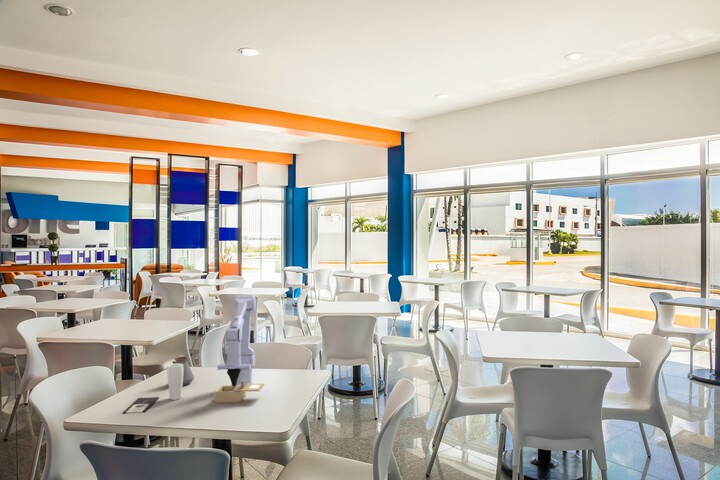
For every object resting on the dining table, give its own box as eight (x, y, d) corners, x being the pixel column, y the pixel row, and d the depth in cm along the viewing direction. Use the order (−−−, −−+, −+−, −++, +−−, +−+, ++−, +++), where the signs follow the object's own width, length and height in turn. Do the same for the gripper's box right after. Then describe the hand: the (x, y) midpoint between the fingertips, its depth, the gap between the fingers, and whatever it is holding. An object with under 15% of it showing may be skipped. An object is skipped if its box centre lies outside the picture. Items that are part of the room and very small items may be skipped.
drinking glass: (187, 397, 213) (186, 364, 213) (175, 401, 207) (175, 367, 207) (176, 395, 216) (175, 362, 216) (164, 399, 210) (163, 366, 210)
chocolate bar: (159, 397, 212) (145, 411, 194) (159, 399, 212) (145, 413, 194) (138, 398, 211) (122, 412, 193) (138, 400, 211) (122, 414, 193)
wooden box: (215, 402, 205) (214, 391, 205) (222, 396, 214) (222, 385, 214) (239, 402, 204) (239, 391, 204) (245, 396, 213) (245, 385, 213)
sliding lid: (233, 391, 204) (233, 383, 204) (239, 384, 214) (239, 377, 214) (259, 391, 204) (258, 383, 204) (264, 384, 213) (264, 377, 213)
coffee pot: (173, 381, 239) (172, 351, 239) (196, 380, 240) (196, 350, 240) (159, 394, 217) (159, 362, 218) (185, 393, 219) (185, 361, 219)
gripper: (214, 357, 206) (215, 388, 205) (247, 357, 205) (247, 388, 205) (220, 353, 213) (220, 383, 213) (252, 353, 212) (252, 383, 212)
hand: (234, 385), depth 209 cm, fingers closed
